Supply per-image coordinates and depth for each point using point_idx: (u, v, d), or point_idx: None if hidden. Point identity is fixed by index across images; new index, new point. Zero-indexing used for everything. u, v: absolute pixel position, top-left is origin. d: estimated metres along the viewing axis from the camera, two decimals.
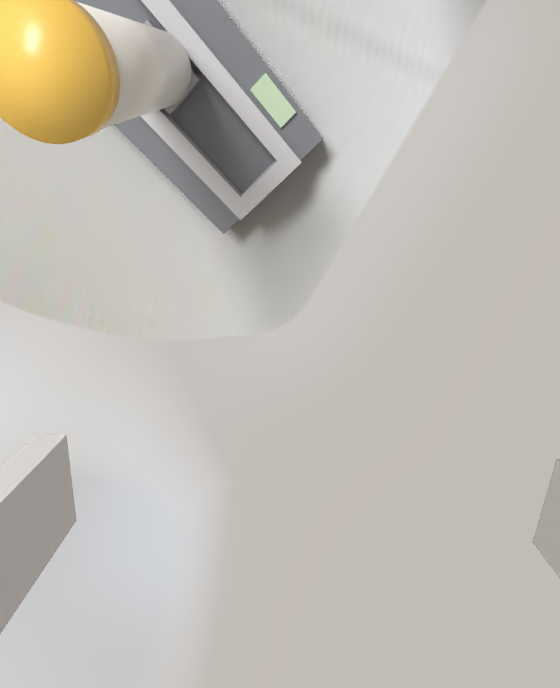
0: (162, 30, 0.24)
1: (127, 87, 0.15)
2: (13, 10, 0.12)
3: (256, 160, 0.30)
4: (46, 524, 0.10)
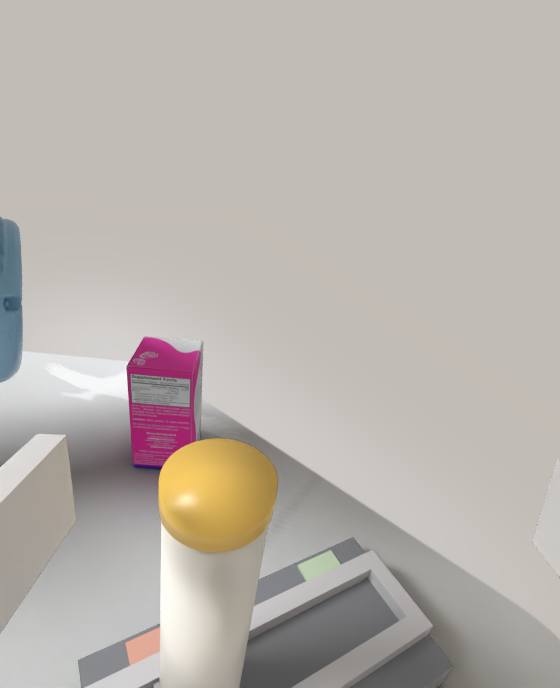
0: None
1: None
2: (179, 471, 0.15)
3: (368, 597, 0.29)
4: (46, 524, 0.10)
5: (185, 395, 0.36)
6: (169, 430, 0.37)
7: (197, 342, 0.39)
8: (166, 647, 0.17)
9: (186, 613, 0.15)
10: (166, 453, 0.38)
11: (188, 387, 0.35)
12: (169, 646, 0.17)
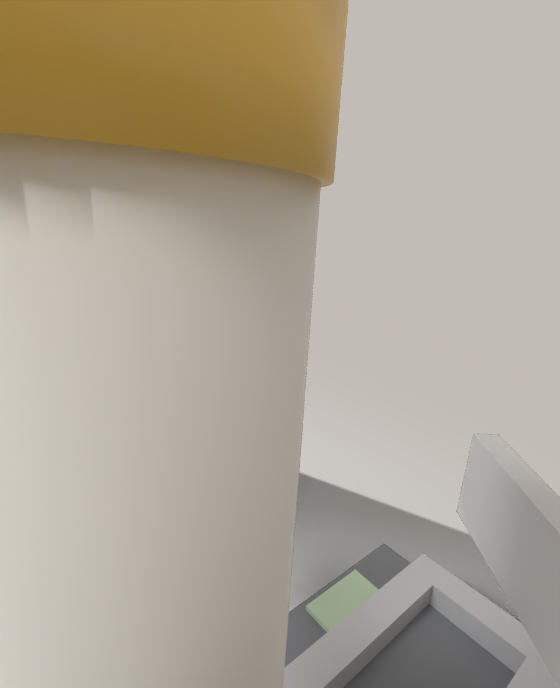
0: None
1: None
2: None
3: (443, 639, 0.16)
4: None
5: None
6: None
7: None
8: None
9: None
10: None
11: None
12: None
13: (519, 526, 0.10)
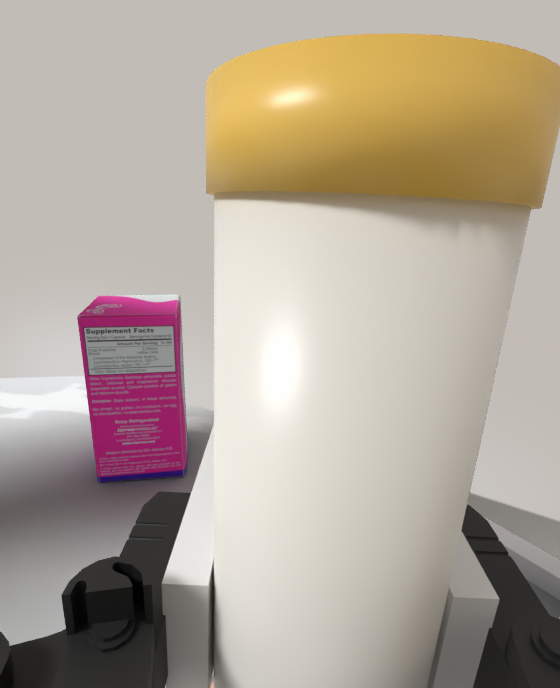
0: None
1: None
2: None
3: None
4: None
5: (168, 353, 0.25)
6: (147, 413, 0.26)
7: (172, 295, 0.29)
8: None
9: (335, 535, 0.05)
10: (146, 451, 0.27)
11: (171, 339, 0.25)
12: None
13: None
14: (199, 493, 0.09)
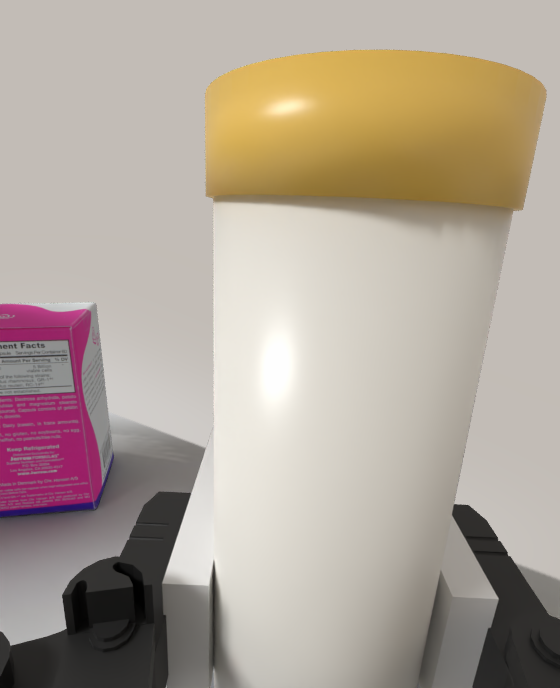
0: None
1: None
2: None
3: None
4: None
5: (65, 371, 0.22)
6: (45, 439, 0.23)
7: (86, 303, 0.26)
8: (250, 681, 0.07)
9: (328, 521, 0.05)
10: (47, 482, 0.23)
11: (67, 355, 0.22)
12: (260, 672, 0.06)
13: None
14: (199, 493, 0.09)
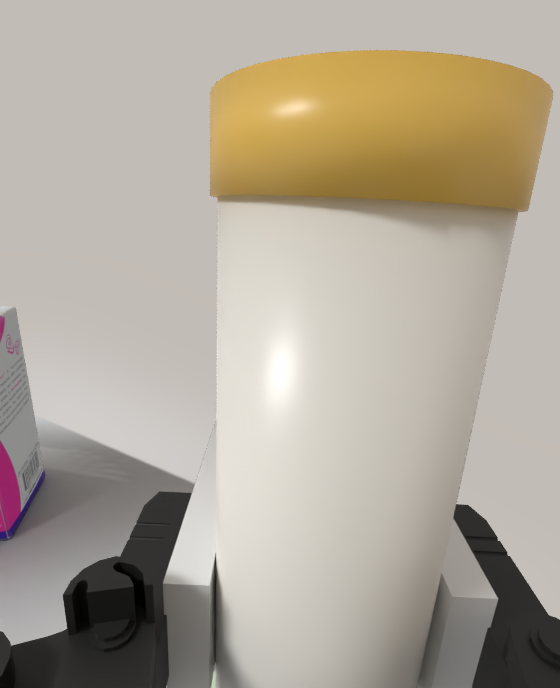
0: None
1: None
2: None
3: None
4: None
5: None
6: None
7: (2, 307, 0.23)
8: (253, 680, 0.07)
9: (333, 521, 0.05)
10: None
11: None
12: (262, 671, 0.06)
13: None
14: (200, 493, 0.09)
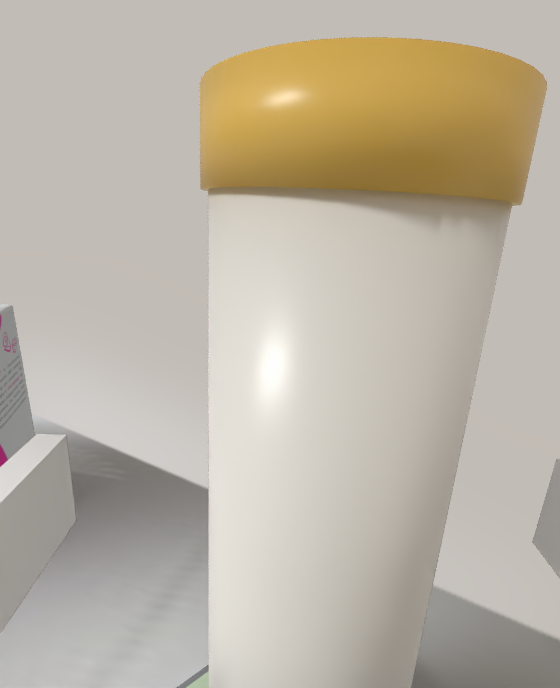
0: None
1: None
2: None
3: None
4: (46, 524, 0.10)
5: None
6: None
7: None
8: (245, 679, 0.06)
9: (323, 519, 0.05)
10: None
11: None
12: (254, 670, 0.06)
13: None
14: None
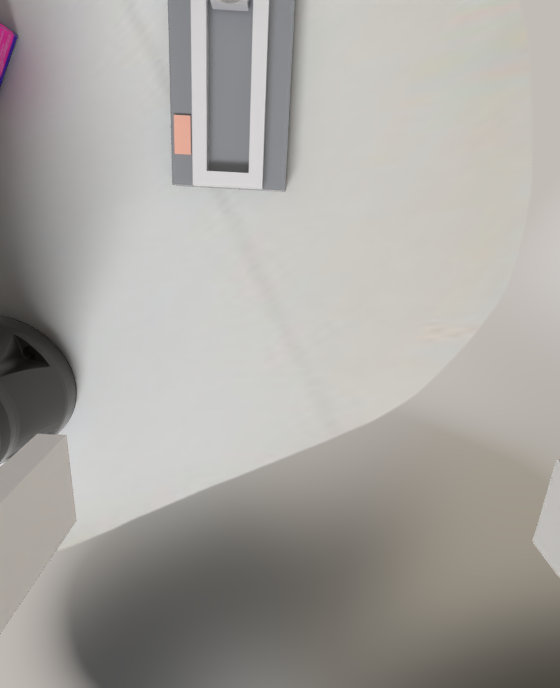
0: None
1: None
2: None
3: None
4: (46, 524, 0.10)
5: None
6: None
7: None
8: None
9: None
10: None
11: None
12: None
13: None
14: None
